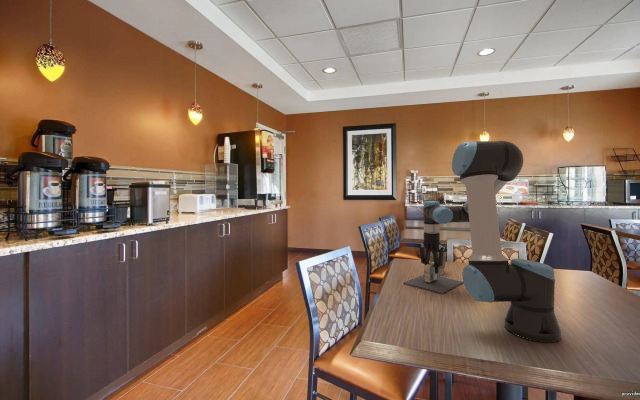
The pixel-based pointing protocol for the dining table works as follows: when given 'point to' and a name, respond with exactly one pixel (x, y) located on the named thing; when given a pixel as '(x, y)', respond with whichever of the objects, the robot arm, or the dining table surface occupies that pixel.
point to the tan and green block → (429, 272)
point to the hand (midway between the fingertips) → (431, 278)
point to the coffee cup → (441, 268)
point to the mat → (434, 284)
